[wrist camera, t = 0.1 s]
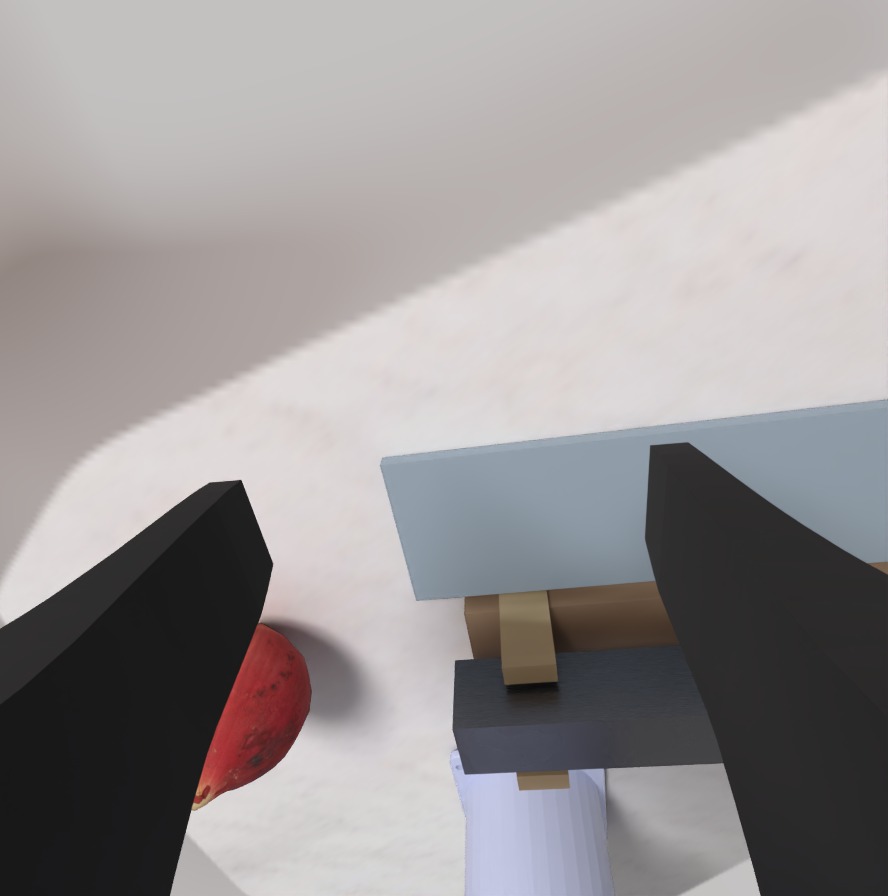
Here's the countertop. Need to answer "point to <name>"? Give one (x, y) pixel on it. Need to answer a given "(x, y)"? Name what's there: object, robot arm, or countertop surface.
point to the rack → (565, 634)
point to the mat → (624, 497)
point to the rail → (583, 714)
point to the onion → (257, 716)
